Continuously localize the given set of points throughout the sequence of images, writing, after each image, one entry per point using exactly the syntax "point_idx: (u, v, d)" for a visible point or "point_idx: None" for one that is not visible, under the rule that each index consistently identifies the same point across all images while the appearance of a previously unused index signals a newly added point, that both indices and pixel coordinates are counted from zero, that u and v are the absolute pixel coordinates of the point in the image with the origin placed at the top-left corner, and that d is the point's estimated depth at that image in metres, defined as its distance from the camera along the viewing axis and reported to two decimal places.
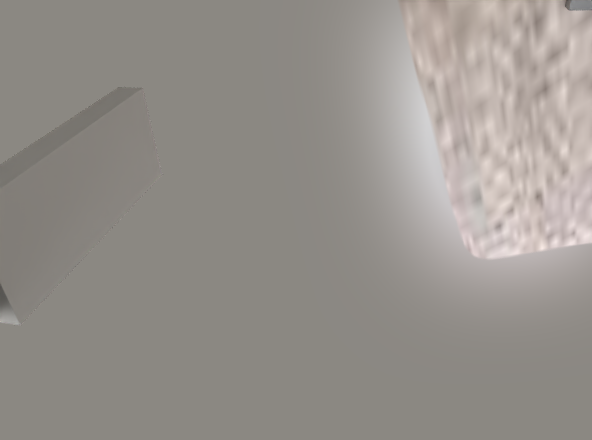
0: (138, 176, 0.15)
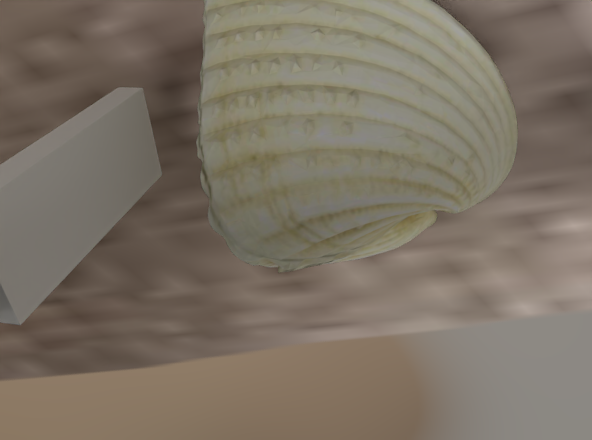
0: (138, 176, 0.15)
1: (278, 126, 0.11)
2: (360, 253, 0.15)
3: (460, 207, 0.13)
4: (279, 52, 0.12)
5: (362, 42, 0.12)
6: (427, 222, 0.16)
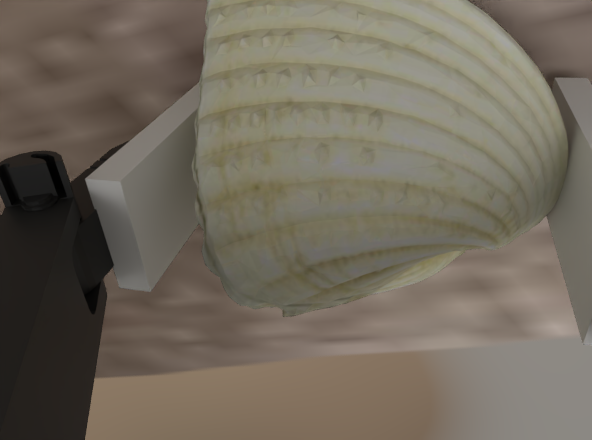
0: None
1: (286, 150, 0.10)
2: (377, 288, 0.14)
3: (497, 246, 0.11)
4: (290, 61, 0.10)
5: (389, 53, 0.10)
6: (455, 254, 0.14)
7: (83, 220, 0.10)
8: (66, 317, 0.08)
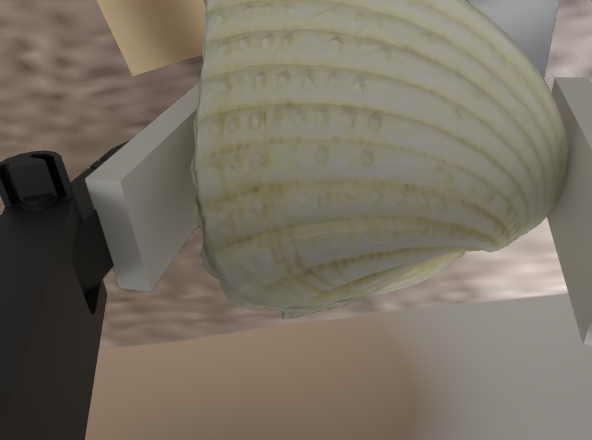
0: None
1: (285, 152, 0.10)
2: None
3: (497, 247, 0.11)
4: (290, 62, 0.10)
5: (388, 54, 0.10)
6: (455, 256, 0.14)
7: (83, 220, 0.10)
8: (66, 317, 0.08)
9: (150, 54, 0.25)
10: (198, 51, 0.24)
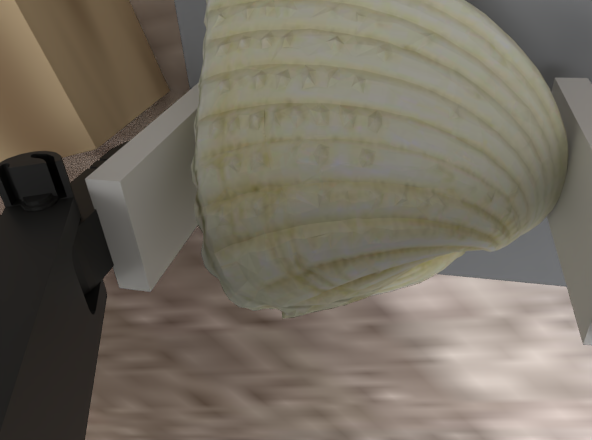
0: None
1: (285, 152, 0.10)
2: None
3: (497, 247, 0.11)
4: (289, 62, 0.10)
5: (388, 54, 0.10)
6: (455, 256, 0.14)
7: (83, 220, 0.10)
8: (66, 317, 0.08)
9: None
10: (62, 150, 0.15)
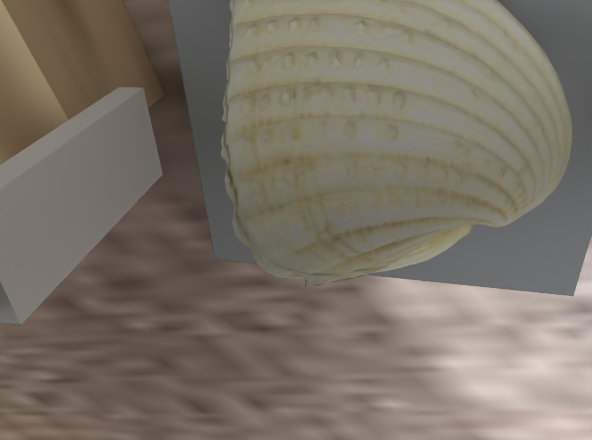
0: (138, 176, 0.15)
1: (315, 127, 0.10)
2: None
3: (505, 221, 0.12)
4: (317, 44, 0.11)
5: (411, 37, 0.11)
6: (461, 234, 0.15)
7: None
8: None
9: None
10: None
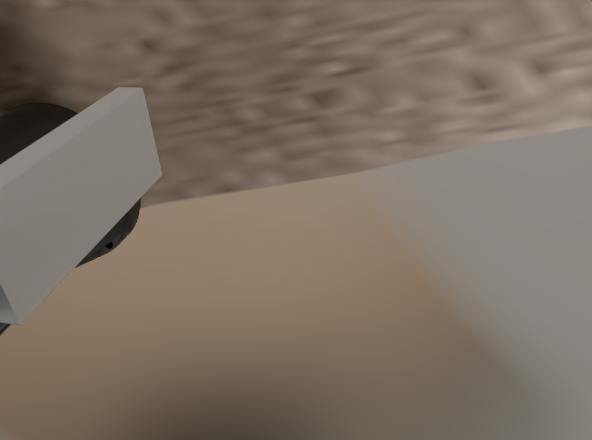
0: (138, 176, 0.15)
1: None
2: None
3: None
4: None
5: None
6: None
7: None
8: None
9: None
10: None
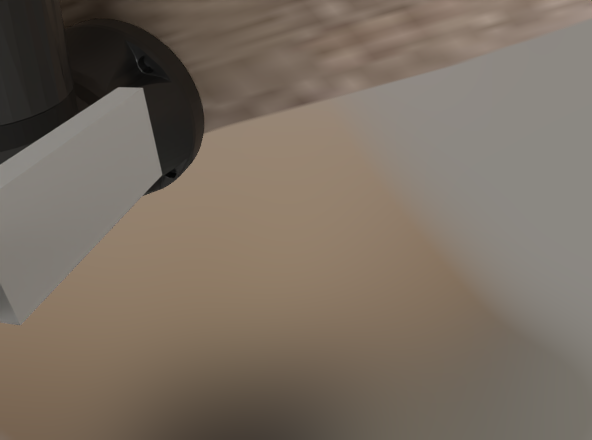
0: (138, 176, 0.15)
1: None
2: None
3: None
4: None
5: None
6: None
7: None
8: None
9: None
10: None
